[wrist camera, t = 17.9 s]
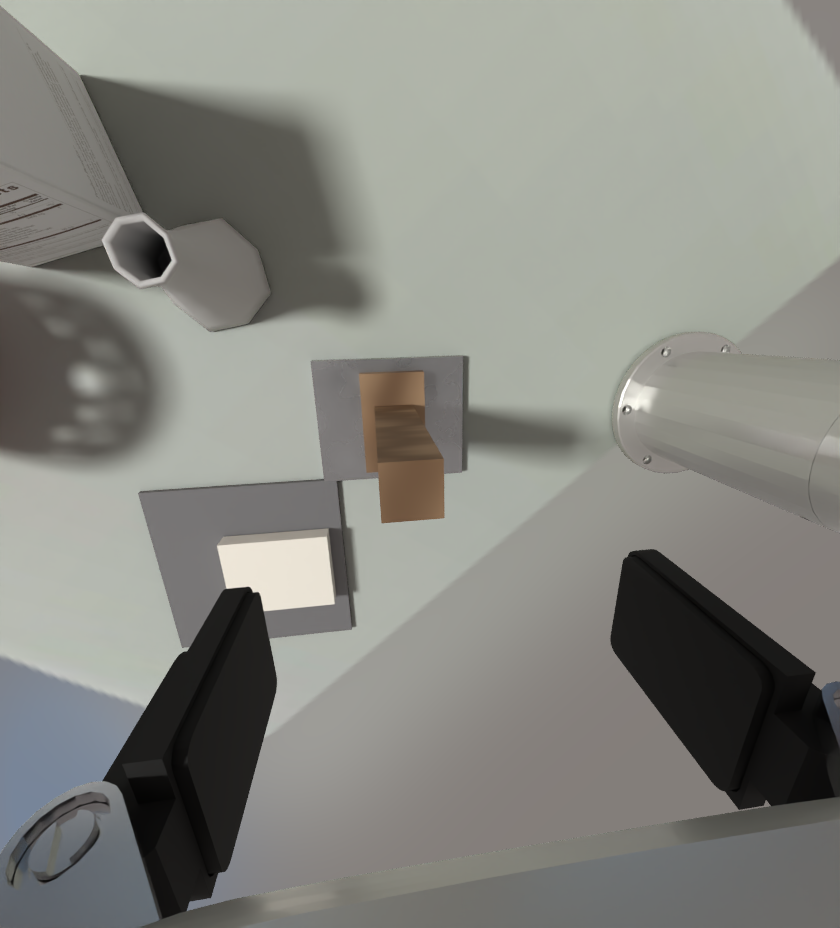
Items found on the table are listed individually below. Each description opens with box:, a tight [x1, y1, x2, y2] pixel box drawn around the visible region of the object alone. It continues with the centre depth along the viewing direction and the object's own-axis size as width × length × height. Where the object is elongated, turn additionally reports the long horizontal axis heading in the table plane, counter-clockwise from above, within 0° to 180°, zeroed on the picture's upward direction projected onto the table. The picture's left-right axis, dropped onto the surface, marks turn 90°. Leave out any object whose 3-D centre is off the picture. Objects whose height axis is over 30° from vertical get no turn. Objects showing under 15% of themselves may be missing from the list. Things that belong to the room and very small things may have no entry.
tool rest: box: [311, 355, 463, 482], centre depth 33 cm, size 12×10×1 cm
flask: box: [102, 212, 271, 332], centre depth 23 cm, size 7×7×10 cm
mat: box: [138, 479, 352, 648], centre depth 35 cm, size 16×16×1 cm
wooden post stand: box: [359, 370, 444, 523], centre depth 25 cm, size 5×8×15 cm, turn 2°
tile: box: [217, 528, 336, 611], centre depth 35 cm, size 2×7×9 cm
